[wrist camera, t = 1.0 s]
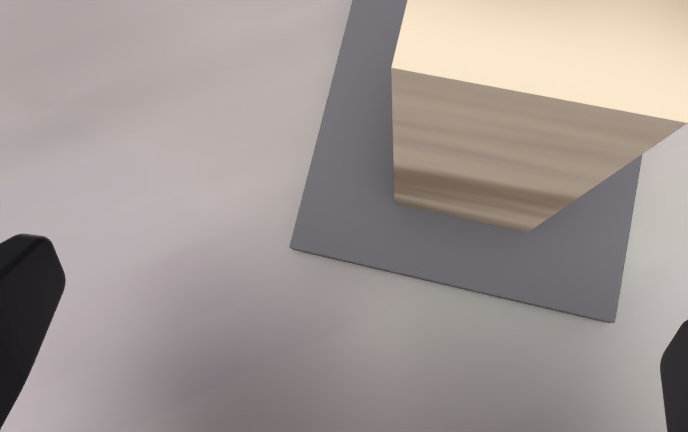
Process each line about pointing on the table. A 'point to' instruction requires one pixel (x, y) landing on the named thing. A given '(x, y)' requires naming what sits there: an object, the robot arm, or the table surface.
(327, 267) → the table surface
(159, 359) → the table surface
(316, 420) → the table surface
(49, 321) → the robot arm
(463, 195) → the maple block
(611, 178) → the rubber mat
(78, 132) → the table surface
